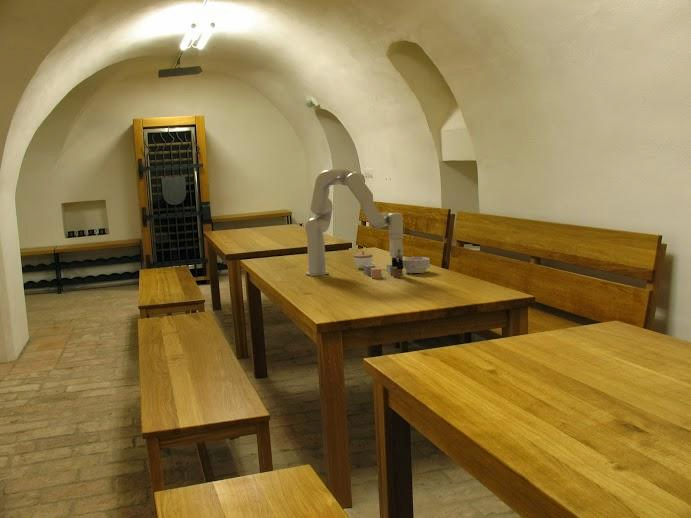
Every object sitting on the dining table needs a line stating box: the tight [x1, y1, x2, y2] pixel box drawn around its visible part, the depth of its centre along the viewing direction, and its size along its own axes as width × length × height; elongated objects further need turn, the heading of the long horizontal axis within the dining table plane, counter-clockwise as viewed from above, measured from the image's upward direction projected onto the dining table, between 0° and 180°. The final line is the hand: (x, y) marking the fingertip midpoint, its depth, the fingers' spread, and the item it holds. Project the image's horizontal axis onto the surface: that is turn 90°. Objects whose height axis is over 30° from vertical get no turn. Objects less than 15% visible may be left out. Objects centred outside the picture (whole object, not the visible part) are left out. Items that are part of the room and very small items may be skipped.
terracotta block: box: [370, 267, 383, 279], centre depth 377 cm, size 5×5×5 cm
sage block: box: [385, 262, 392, 274], centre depth 390 cm, size 5×5×5 cm
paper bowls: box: [403, 256, 431, 274], centre depth 388 cm, size 15×15×8 cm
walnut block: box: [390, 267, 404, 278], centre depth 378 cm, size 5×5×5 cm
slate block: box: [362, 264, 376, 276], centre depth 387 cm, size 5×5×5 cm
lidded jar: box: [353, 251, 374, 270], centre depth 409 cm, size 11×11×9 cm
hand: (397, 267), depth 378 cm, fingers open, 9 cm apart
